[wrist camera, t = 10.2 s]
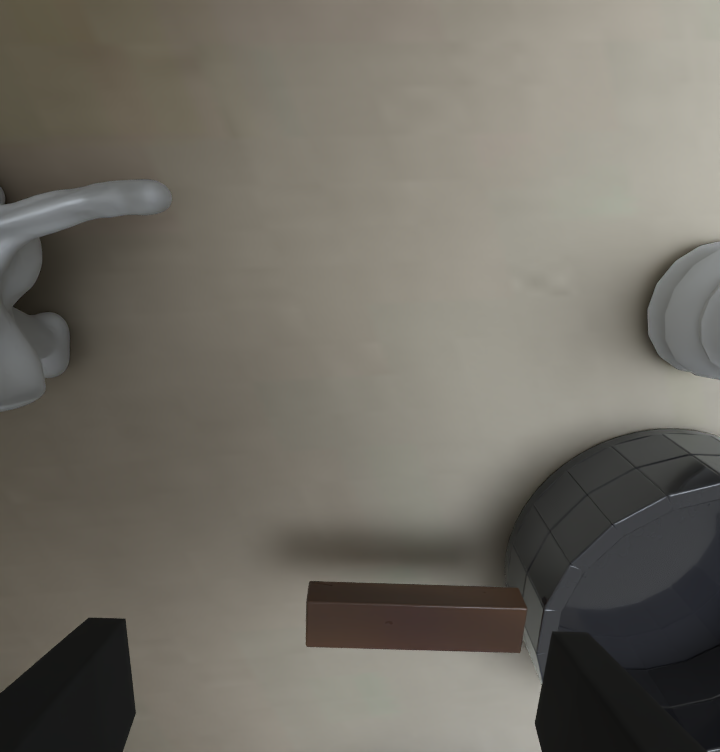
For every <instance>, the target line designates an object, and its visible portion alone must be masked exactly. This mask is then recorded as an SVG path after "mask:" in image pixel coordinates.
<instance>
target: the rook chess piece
mask: <svg viewBox="0 0 720 752" xmlns="http://www.w3.org/2000/svg"><path fill="white" fill-rule="evenodd" d="M647 314H648V336H649V337H650V339H651V341H652V343H653V345H654V347H655V349H656V351H657V353H658V355H659V356H660V357H661V358H663V359H664V360H665V361H667V362H668V363H670V364H671V365H672V366H674V367H675V368H676V369H678V370H683V371H688V372H692V373H693V374H694V375H697V376H702V377H708V378H713V379H718V380H720V242H715V243H710V244H705V245H701V246H699V247H697V248H696V249H694V250H692V251H691V252H689V253H688V254H686V255H684V256H683V257H681V258H680V259H678V260H676V261H675V262H674V263H673V265H672V266H671V267H670V268H669V269H668V271H667V272H666V273H665V274H664V276H663V277H662V278H661V279H660V280H659V282H658V283H657V284H656V287H655V290H654V293H653V296H652V298H651V301H650V304H649V307H648V310H647Z"/></svg>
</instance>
